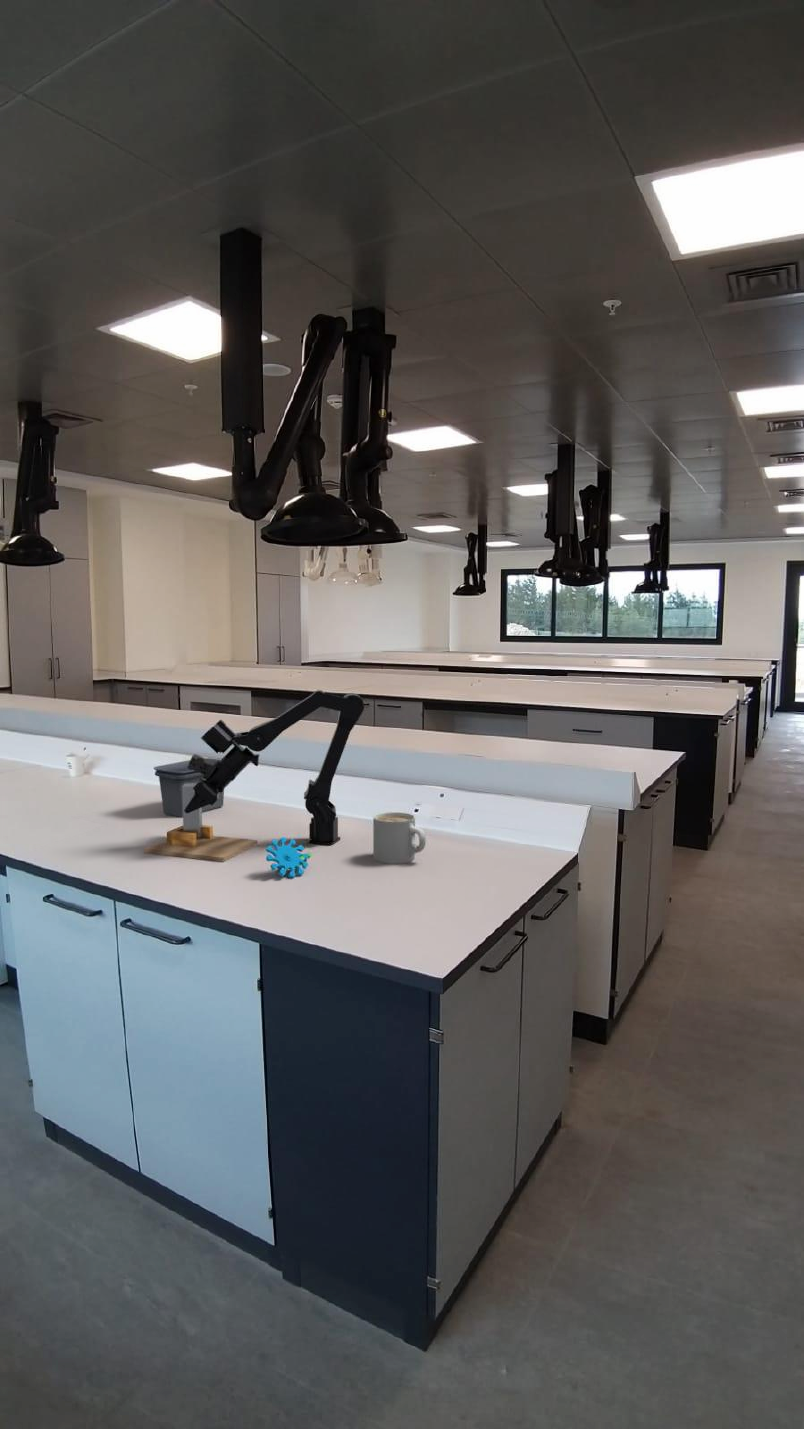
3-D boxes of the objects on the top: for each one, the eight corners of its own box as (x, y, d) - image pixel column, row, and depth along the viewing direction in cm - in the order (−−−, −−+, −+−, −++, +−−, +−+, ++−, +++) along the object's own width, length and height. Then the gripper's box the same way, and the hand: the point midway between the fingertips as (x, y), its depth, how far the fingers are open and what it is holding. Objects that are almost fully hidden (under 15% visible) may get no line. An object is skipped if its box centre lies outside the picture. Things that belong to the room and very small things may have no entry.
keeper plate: (257, 844, 192) (257, 828, 191) (223, 861, 177) (223, 845, 176) (183, 836, 199) (182, 821, 198) (144, 852, 184) (144, 836, 183)
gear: (273, 875, 162) (263, 835, 168) (263, 889, 166) (254, 849, 171) (318, 873, 168) (308, 835, 174) (308, 887, 172) (298, 849, 177)
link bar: (202, 833, 193) (201, 783, 191) (200, 837, 189) (198, 786, 188) (186, 833, 192) (184, 783, 191) (183, 837, 188) (182, 786, 187)
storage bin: (180, 821, 215) (179, 771, 213) (145, 813, 223) (143, 766, 222) (235, 807, 233) (234, 761, 231) (200, 800, 241) (199, 756, 240)
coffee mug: (364, 857, 181) (364, 816, 180) (393, 849, 188) (393, 810, 187) (405, 869, 172) (405, 826, 171) (434, 860, 179) (434, 819, 178)
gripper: (211, 738, 198) (169, 781, 198) (201, 749, 179) (155, 796, 179) (243, 767, 200) (201, 809, 199) (235, 781, 181) (190, 827, 181)
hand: (186, 810), depth 190 cm, fingers closed on link bar, 4 cm apart
